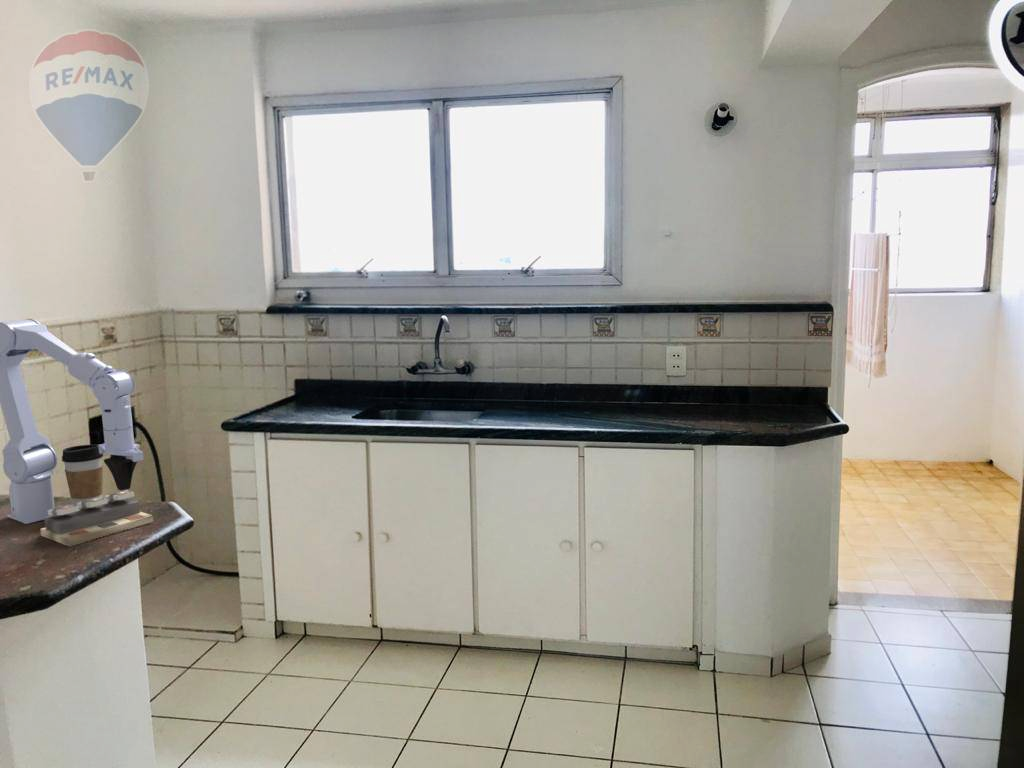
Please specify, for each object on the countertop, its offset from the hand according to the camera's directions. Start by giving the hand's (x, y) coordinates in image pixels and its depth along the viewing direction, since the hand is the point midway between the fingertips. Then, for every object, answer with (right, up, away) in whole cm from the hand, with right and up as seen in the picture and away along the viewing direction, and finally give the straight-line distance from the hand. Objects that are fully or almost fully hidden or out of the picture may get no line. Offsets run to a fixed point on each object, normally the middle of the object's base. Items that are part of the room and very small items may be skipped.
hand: (124, 489), depth 179 cm
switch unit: (-4, -8, -3) cm, 9 cm away
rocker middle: (-5, -3, -3) cm, 7 cm away
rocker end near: (-9, -3, -8) cm, 12 cm away
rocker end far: (-2, -2, +2) cm, 3 cm away
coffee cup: (-13, -6, +10) cm, 18 cm away
